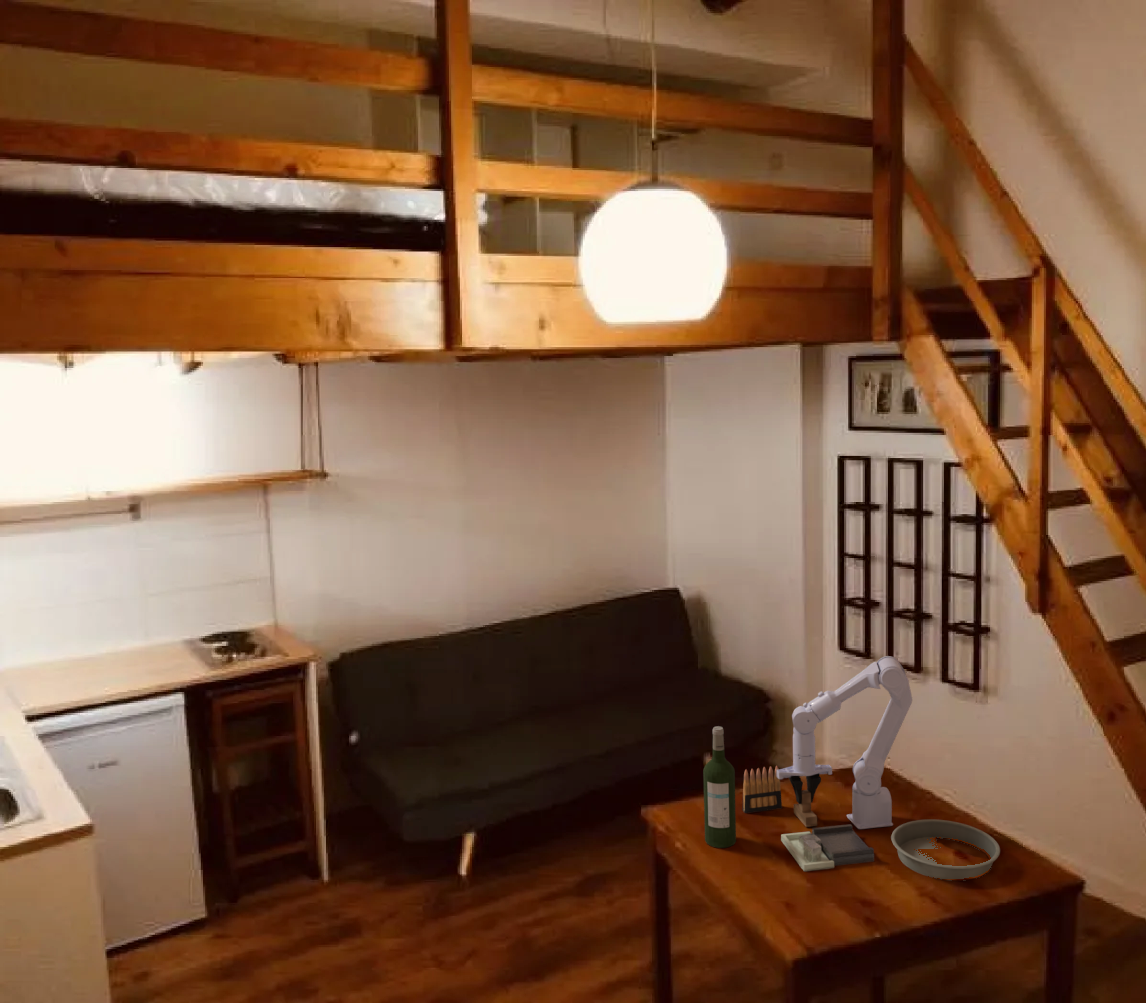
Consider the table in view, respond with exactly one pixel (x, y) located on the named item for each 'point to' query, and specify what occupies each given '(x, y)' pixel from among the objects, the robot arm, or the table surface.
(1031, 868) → the table surface
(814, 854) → the chip
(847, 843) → the slot plate
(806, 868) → the tray
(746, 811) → the ammunition clip
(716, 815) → the wine bottle
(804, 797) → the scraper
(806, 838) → the chip
